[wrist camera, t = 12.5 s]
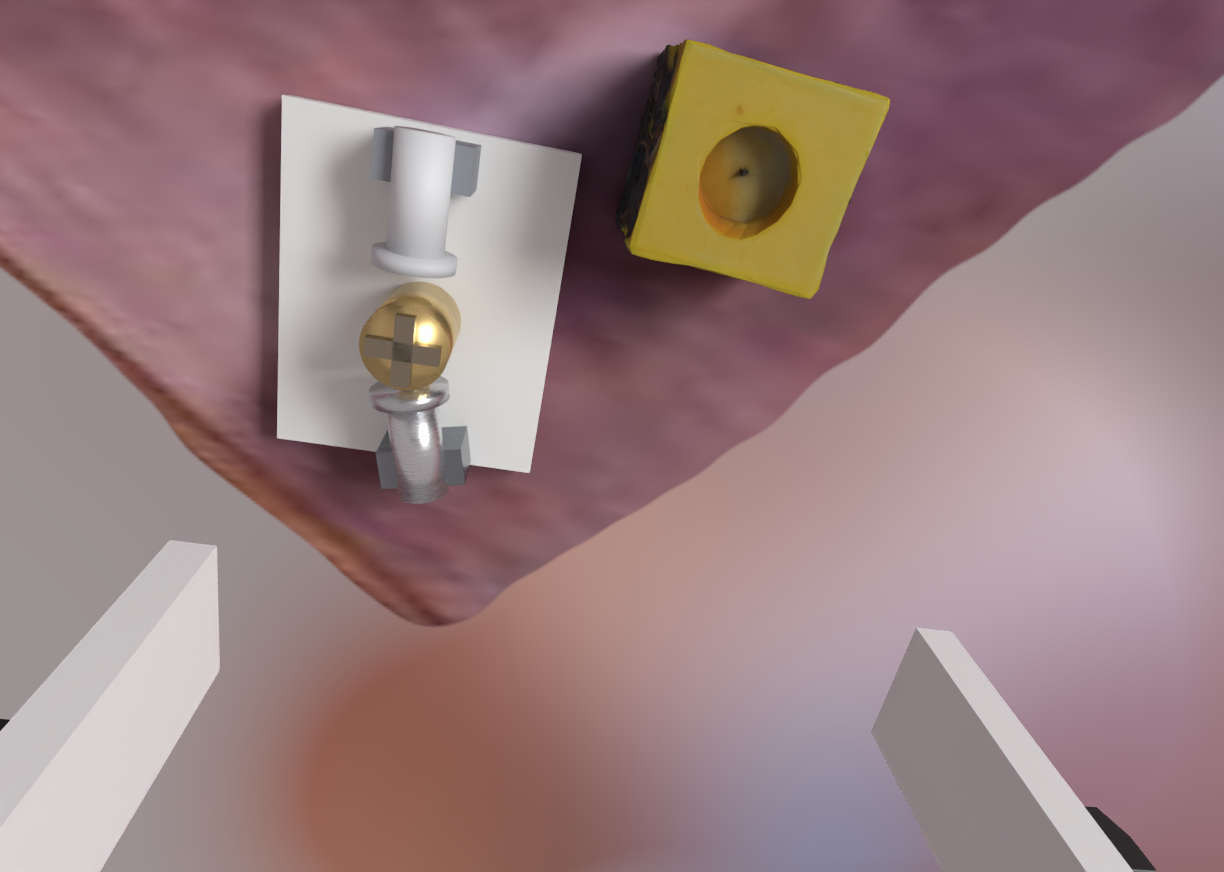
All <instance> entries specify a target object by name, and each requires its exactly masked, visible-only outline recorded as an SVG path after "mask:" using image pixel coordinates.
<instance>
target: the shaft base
mask: <svg viewBox="0 0 1224 872" xmlns="http://www.w3.org/2000/svg"><path fill="white" fill-rule="evenodd" d="M581 158H582V154H581V153H577V152H572V151H567V150H562V149H557V148H552V147H547V146H542V145H537V144H532V143H527V142H522V141H517V140H512V139H507V138H502V137H497V136H493V135H488V134H483V133H478V132H473V131H468V130H463V129H458V128H453V127H448V126H443V125H438V124H433V123H428V122H423V121H418V120H413V119H408V118H403V117H398V116H393V115H388V114H383V113H378V112H373V111H368V110H363V109H358V108H353V107H348V106H344V105H339V104H334V103H329V102H324V101H319V100H314V99H309V98H304V97H299V96H293V95H282V130H281V198H280V266H279V334H278V402H277V438H280V439H287V440H294V441H301V442H309V443H316V444H323V445H330V446H338V447H345V448H352V449H359V450H367V451H374V452H376V451H377V449H378V447H379V445H380V443H381V442H382V440H383V438H384V436H385V434H386V432H387V430H388V425H387V418H386V413H384V412H380V411H378V410H376V409H374V408H373V407H372V405H371V400H370V394H369V389H370V387H371V386H372V385H373V384H375V383H377V382H379V381H378V380H377V379H376V378H374V377H373V376H372V375H371V374H370V372H369V371H368V370H367V369H366V367H365V365H364V363H363V361H362V359H361V355H360V351H359V338H360V334H361V331H362V328H363V326H364V325H365V323H366V322H367V320H368V319H369V318H370V317H371V316H372V315H373V314H374V312H375V311H376V310H377V309H378V308H379V307H380V306H381V304H382V303H383V302H384V301H385V300H386V299H387V297H388V296H389V295H390V294H391V293H392V292H393V291H394V290H395V289H396V288H398V287H399V286H401V285H403V284H406V283H409V282H416V281H421V282H428V283H432V284H434V285H437V286H439V287H441V288H442V289H443V290H445V291H446V292H447V293H448V294H449V295H450V296H451V297H452V298H453V300H454V301H455V302H456V304H457V306H458V309H459V312H460V316H461V328H460V332H459V335H458V338H457V340H456V343H455V345H454V348H453V350H452V353H451V355H450V358H449V360H448V363H447V365H446V367H445V369H444V371H443V373H442V374H441V376H442V377H444V378H446V379H447V380H448V383H449V391H450V398H449V400H448V401H447V402H446V403H444V404H442V405H441V406H439V411H440V419H441V427H457V426H467V429H468V439H469V448H470V457H471V461H470V465H475V466H483V467H490V468H497V469H504V470H512V471H519V472H526V473H530V468H531V462H532V455H533V449H534V443H535V437H536V431H537V425H538V419H539V413H540V407H541V401H542V395H543V389H544V383H545V377H546V371H547V365H548V358H549V352H550V346H551V340H552V334H553V328H554V322H555V316H556V310H557V304H558V298H559V292H560V286H561V280H562V274H563V268H564V261H565V255H566V249H567V243H568V237H569V231H570V225H571V219H572V213H573V207H574V201H575V195H576V189H577V183H578V177H579V171H580V164H581Z"/></svg>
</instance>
